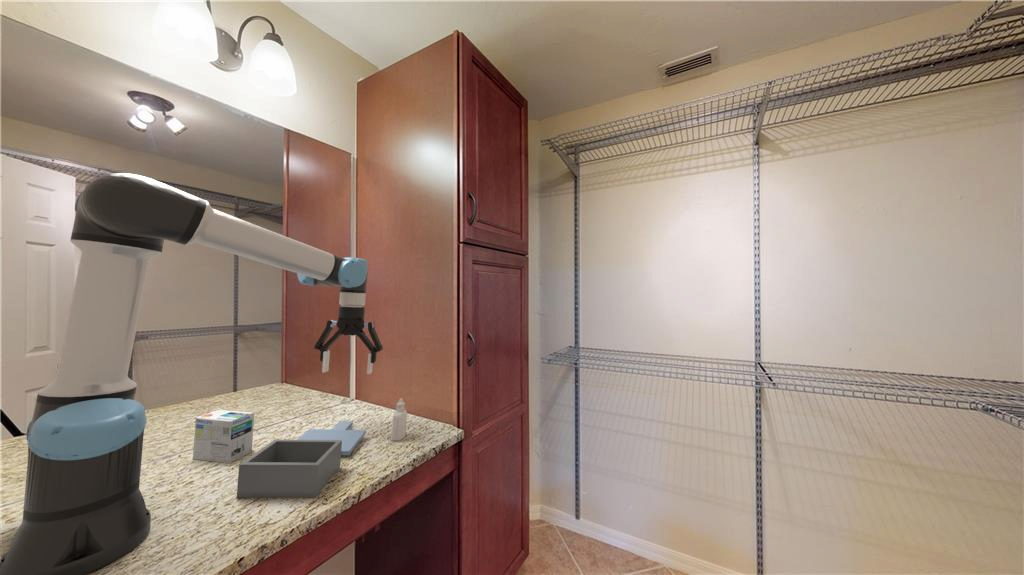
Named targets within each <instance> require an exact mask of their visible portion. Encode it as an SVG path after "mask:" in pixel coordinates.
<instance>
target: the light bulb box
mask: <svg viewBox="0 0 1024 575" xmlns="http://www.w3.org/2000/svg"><path fill="white" fill-rule="evenodd" d="M254 423H255V412H251V411H237V410H227V409H217V410H215V411H211V412H209V413H206V414H202V415H199V416H196V417H195V425H194V440H193V453H192V460H198V461H208V462H215V463H223V464H231V463H232V462H234V461H236V460H238V459H241V458H242V457H244V456H246V455H248V454H250V453H252V451H253V440H254V439H253V437H254Z"/></svg>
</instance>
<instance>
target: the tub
mask: <svg viewBox="0 0 1024 575" xmlns="http://www.w3.org/2000/svg"><path fill="white" fill-rule="evenodd" d="M341 446H342V440H297V439H280V438H279V439H276V438H275V439H273V440H271V442H269V443H268V444H266V446H265V445H264V447H262V448H260V449H259V450H257V452H255V453H253V454H252V455H251V456H249V457H248V458H246V459H245V460H244V461H242V462H241V463H240V464H238V475H237V488H236V489H237V490H236V499H293V498H294V499H302V498H303V499H304V498H305V499H307V498H308V499H316V498H317V497H318V496H319V494H320V493H321V492H322V491H323V490H324V488H326V486H327V485H328V484H329V483H330V481H331V480H332V479H333V477H335V475H336V474H337V473H338V472H339V470H340V469H341V461H342V460H341V457H342V455H341Z"/></svg>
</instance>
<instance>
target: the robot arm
mask: <svg viewBox="0 0 1024 575" xmlns="http://www.w3.org/2000/svg"><path fill="white" fill-rule="evenodd" d="M74 211H75V217H74V221H73V226H72V231H71V236H70V240H69V241H70V243H72V244H73V245H74V246H75V247H76V248H77V249H78V250H80V252H81V254H80V259H79V264H78V269H77V274H76V279H75V281H74V282H75V283H74V289H73V292H72V297H71V302H70V305H69V306H70V307H69V311H68V315H67V316H68V317H67V320H66V321H67V322H66V326H65V331H64V336H63V340H62V345H61V350H60V355H59V360H58V365H57V369H56V374H55V377H54V379H55V380H53V381H52V382H51V383H49V384H47V385H46V386H44V387H42V388H40V389H39V390H38V392H37V395H36V399H35V400H36V401H35V405H34V410H33V414H32V417H31V418H32V419H31V421H30V422H29V423H28V425H27V428H26V435H25V436H26V437H25V438H26V441H27V467H26V479H25V490H24V500H23V511H22V512H23V513H22V522H21V524H19V525H20V526H19V527H18V529H17V531H16V533H15V535H14V537H13V539H12V541H11V543H10V545H9V548H8V551H7V552H6V553H5V554H4V555H3V556H2V557H1V559H0V575H88V574H90V573H92V572H95V571H96V569H97V570H99V569H100V568H101V569H102V568H103V567H105V566H107V565H109V564H111V563H113V562H114V561H116V560H118V559H120V558H121V557H123V556H125V555H126V554H128V553H130V551H132V550H134V549H135V548H136V547H137V546H138V545H140V543H142V542H143V541H144V540H145V539H146V537H147V536H148V534H149V533H150V530H151V524H152V521H151V520H152V516H151V512H150V510H149V508H147V506H146V502H145V500H144V499H145V498H144V497H143V495H142V492H141V490H140V481H141V473H142V472H141V471H142V458H143V447H144V445H143V444H144V434H145V429H146V425H147V416H146V409H145V407H144V404H142V403H141V402H139V401H137V400H135V397H136V392H137V386H138V384H137V382H135V381H134V380H132V379H131V378H129V375H128V374H129V370H130V364H131V359H132V353H133V349H134V343H135V338H136V332H137V329H138V322H139V317H140V311H141V306H142V302H143V301H142V300H143V297H144V291H145V285H146V281H147V275H148V269H149V266H150V265H149V264H150V261H151V260H153V259H154V258H156V257H159V256H161V255H162V253H163V248H164V242H165V241H169V242H174V243H177V244H180V245H183V246H189V245H192V244H198V245H199V244H200V245H201V246H205V247H208V248H212V249H215V250H219V251H221V252H226V253H228V254H232V255H235V256H239V257H242V258H244V259H245V258H246V259H248V260H252V261H255V262H258V263H262V264H264V265H269V266H272V267H275V268H279V269H282V270H285V271H289V272H292V273H296V274H297V279H298V281H299V283H300V284H302V285H304V286H305V285H306V286H312V287H313V286H315V287H317V286H318V287H319V286H320V287H336V288H339V299H338V300H339V303H338V304H339V305H340V306H339V307H338V315H337V318H338V319H337V320H334V319H330V320H327V321H326V324H325V325H326V326H325V328H324V330H323V332H322V334H321V335H320V337H319V338H318V339H317V341H316V342H315V345H314V347H313V348H314V350H318V351H320V352H319V353H320V356H319V358H320V359H319V361H320V362H322V368H321V373H327V372H329V370H330V358H331V356H330V355H331V350H329V348H330V347H332V345H333V344H335V342H336V341H337V340H338V339H339V338H340V337H341V336H342V335H344V336H353V337H354V336H357V337H358V338H359V339H360V340H361V342H363V345H365V347H366V348H367V349H368V351H369V353H368V355H367V365H366V366H367V368H366V375H371V374H372V373H373V367H374V365H373V364H376V362H377V353H378V352H382V351H383V349H384V348H383V344H382V342H381V340H380V338H379V336H378V333H377V331H376V329H375V322H374V321H370V322H365V312H366V308H365V307H364V306H365V305H366V296H367V294H366V292H367V283H368V282H367V280H368V273H369V270H368V267H369V266H368V261H367V260H366V259H363V258H360V257H341V256H339V255H336V254H333V253H330V252H327V251H326V250H322V249H320V248H317V247H314V246H312V245H309V244H307V243H305V242H302V241H299V240H296V239H293V238H291V237H288V236H286V235H283V234H281V233H278V232H275V231H273V230H270V229H267V228H265V227H262V226H259V225H257V224H254V223H252V222H249V221H246V220H244V219H241V218H239V217H237V216H234V215H230V214H228V213H225V212H223V211H220V210H218V209H215V208H213V207H212V205H211V204H210V203H209V201H208V200H206V199H203V198H200V197H198V196H195V195H194V194H191V193H188V192H186V191H183V190H180V189H179V188H176V187H173V186H171V185H168V184H167V183H163V182H161V181H158V180H156V179H154V178H151V177H147V176H144V175H140V174H134V173H129V172H127V173H126V172H116V173H108V174H104V175H101V176H99V177H96V178H94V179H92V180H91V182H88V184H87V185H86V186H85V187H84V190H82V191H81V192H80V194H79V195H78V196H77V198H76V200H75V203H74ZM335 327H337V328H338V329H337V331H335V333H334V334H333V335H332V336H331V337H330V339H328V338H329V335H331V332H332V331H333V329H334V328H335ZM364 328H365V329H366V330H368V333H369V336H370V338H371V340H372V341H371V340H370V339H369V337H368V336H367V335H366V332H365V331H364V330H363V329H364ZM327 339H328V340H327Z"/></svg>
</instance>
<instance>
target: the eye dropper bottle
mask: <svg viewBox="0 0 1024 575" xmlns="http://www.w3.org/2000/svg"><path fill="white" fill-rule="evenodd" d="M405 405H406V402H404V400H403V398H399V401H398V402H397V403H396V408H395V409H396V410H395V412H394V413H393V416H392V427H391V428H392V429H391V440H392V441H393V442H400V441H401V440H403V439H404V438H405V436H406V431H407V420H408V419H407V418H408V417H407V416H408V415H407V414H408V412H407V410H406V408H405V407H406V406H405Z"/></svg>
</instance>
